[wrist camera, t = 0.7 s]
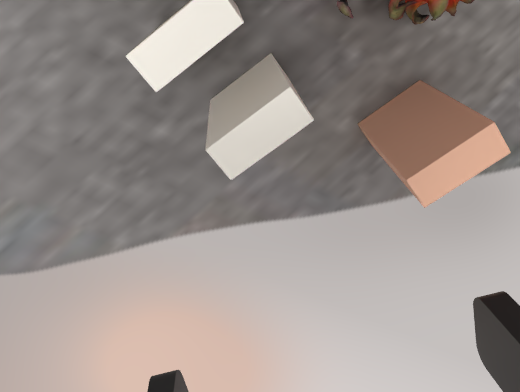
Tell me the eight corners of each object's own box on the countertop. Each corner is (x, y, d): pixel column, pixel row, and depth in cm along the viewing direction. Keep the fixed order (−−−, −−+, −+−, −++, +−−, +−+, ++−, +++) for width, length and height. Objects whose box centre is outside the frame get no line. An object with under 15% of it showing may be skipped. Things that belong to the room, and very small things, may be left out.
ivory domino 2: (210, 99, 33) (205, 149, 23) (270, 53, 32) (290, 86, 22) (228, 122, 33) (231, 180, 24) (288, 78, 32) (314, 120, 23)
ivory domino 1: (154, 30, 30) (125, 56, 21) (217, -22, 29) (214, -19, 20) (175, 56, 31) (156, 92, 22) (237, 6, 30) (243, 22, 21)
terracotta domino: (357, 123, 34) (406, 180, 25) (419, 79, 33) (494, 121, 24) (372, 145, 35) (424, 207, 26) (433, 103, 34) (510, 152, 25)
